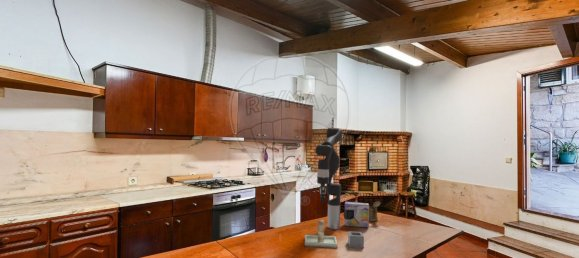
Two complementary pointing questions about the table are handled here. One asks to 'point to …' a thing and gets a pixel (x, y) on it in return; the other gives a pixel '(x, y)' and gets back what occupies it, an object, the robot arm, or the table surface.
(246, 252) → the table surface
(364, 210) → the cake pan box
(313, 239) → the sage tray
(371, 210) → the wooden mug
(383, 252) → the table surface
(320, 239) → the birch peg
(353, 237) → the grey cup
